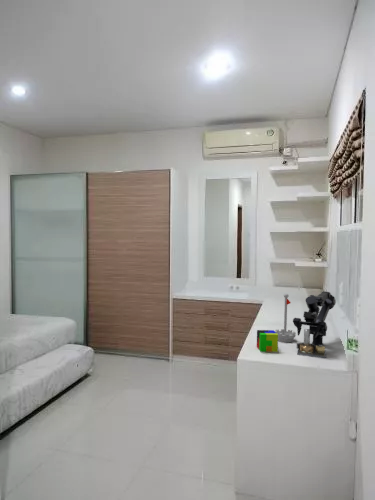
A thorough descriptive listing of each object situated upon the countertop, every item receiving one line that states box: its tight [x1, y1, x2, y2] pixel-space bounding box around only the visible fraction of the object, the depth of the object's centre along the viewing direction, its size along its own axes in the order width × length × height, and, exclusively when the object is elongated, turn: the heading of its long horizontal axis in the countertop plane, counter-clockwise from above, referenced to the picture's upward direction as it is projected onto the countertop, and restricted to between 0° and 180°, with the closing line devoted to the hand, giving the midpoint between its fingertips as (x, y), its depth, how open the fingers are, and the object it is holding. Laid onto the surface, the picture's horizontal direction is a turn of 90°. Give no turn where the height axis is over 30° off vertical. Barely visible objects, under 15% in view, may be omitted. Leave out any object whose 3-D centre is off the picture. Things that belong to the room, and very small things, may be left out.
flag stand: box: [274, 293, 297, 343], centre depth 241 cm, size 13×13×30 cm
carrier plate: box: [296, 342, 327, 359], centre depth 215 cm, size 12×16×5 cm
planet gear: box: [300, 328, 314, 352], centre depth 216 cm, size 8×7×12 cm
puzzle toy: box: [256, 329, 279, 353], centre depth 221 cm, size 10×10×10 cm
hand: (306, 336), depth 214 cm, fingers open, 9 cm apart
